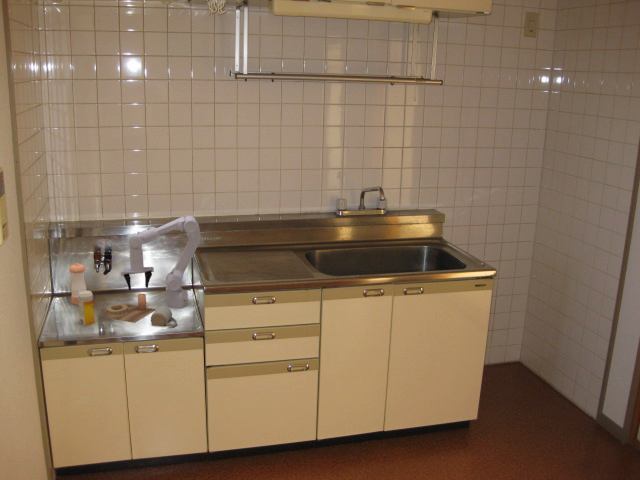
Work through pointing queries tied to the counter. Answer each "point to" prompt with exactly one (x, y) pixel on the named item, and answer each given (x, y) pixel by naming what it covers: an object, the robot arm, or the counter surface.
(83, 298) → the yellow labeled bottle
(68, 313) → the counter surface
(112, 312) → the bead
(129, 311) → the board
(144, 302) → the peg
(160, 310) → the ceramic mug
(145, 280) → the robot arm
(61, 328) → the counter surface
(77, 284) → the salt shaker
